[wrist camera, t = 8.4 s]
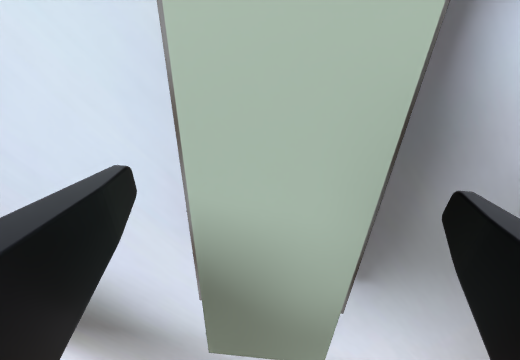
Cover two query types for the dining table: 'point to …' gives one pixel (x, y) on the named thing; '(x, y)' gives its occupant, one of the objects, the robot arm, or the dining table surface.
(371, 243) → the dining table surface
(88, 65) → the dining table surface
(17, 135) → the dining table surface
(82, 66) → the dining table surface
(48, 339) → the robot arm
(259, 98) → the pale green block
